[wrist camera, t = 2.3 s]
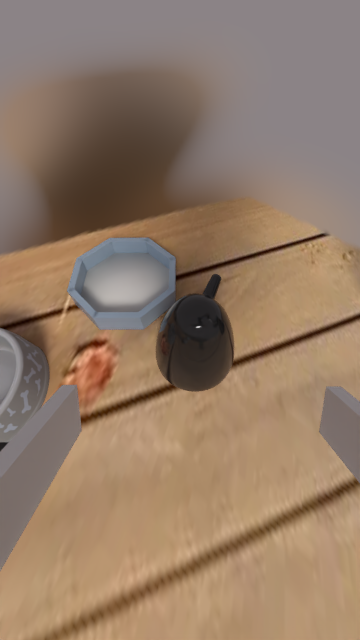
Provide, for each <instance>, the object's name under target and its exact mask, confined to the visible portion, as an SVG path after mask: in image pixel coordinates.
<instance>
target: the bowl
mask: <svg viewBox="0 0 360 640" xmlns="http://www.w3.org/2000/svg"><path fill="white" fill-rule="evenodd" d="M67 292H68V293H69V295H70V296H71V298H72V299H73V301H74V302H75V304H76V305H77V306H78V307H79V308H80V309H81V310H82V311H83V312H84V313H85V314H86V316H87V317H88V318H89V319H90V320H91V321H92V322H93V323H94V324H95V325H96V326H97V327H98V328H99V329H145V328H146V327H147V326H148V325H150V324H151V323H152V322H153V321H155V320H156V319H157V318H158V317H159V316H161V315H162V314H163V313H164V312H166V311H167V310H168V309H169V308H170V307H171V306H172V305H173V304H174V303H175V302H176V258H175V257H174V256H173V255H171V254H170V253H169V252H167V251H166V250H164V249H163V248H162V247H160V246H159V245H158V244H156V243H155V242H154V241H152V240H151V239H150V238H109V239H108V240H106V241H104V242H103V243H101V244H99V245H98V246H96V247H94V248H93V249H91V250H90V251H88V252H86V253H85V254H83V255H81V256H80V257H78V258H77V259H76V262H75V266H74V269H73V273H72V276H71V280H70V283H69V286H68V290H67Z"/></svg>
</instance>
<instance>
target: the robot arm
mask: <svg viewBox="0 0 360 640" xmlns="http://www.w3.org/2000/svg"><path fill="white" fill-rule="evenodd" d="M80 432H81V421H80V411H79V401H78V391H77V385H62V386H61V387H60V388H59V389H58V390H57V391H56V392H55V394H54V395H53V396H52V397H51V398H50V399H49V400H48V401H47V402H46V403H45V404H44V405H43V406H42V407H41V408H40V410H39V411H38V412H37V413H36V414H35V415H34V416H33V417H32V418H31V419H30V420H29V421H28V422H27V423H26V425H25V426H24V427H23V428H22V429H21V430H20V431H19V432H18V433H17V434H16V435H15V436H14V437H13V438H12V439H11V441H10V442H0V571H1V569H2V567H3V566H4V564H5V562H6V560H7V559H8V557H9V555H10V553H11V552H12V550H13V548H14V547H15V545H16V543H17V541H18V540H19V538H20V536H21V534H22V533H23V531H24V529H25V527H26V526H27V524H28V522H29V521H30V519H31V517H32V515H33V514H34V512H35V510H36V508H37V507H38V505H39V503H40V502H41V500H42V498H43V496H44V495H45V493H46V491H47V489H48V488H49V486H50V484H51V482H52V481H53V479H54V477H55V476H56V474H57V472H58V470H59V469H60V467H61V465H62V463H63V462H64V460H65V458H66V457H67V455H68V453H69V451H70V450H71V448H72V446H73V444H74V443H75V441H76V439H77V437H78V436H79V434H80ZM319 432H320V434H321V435H322V436H323V437H324V439H325V440H326V441H327V442H328V444H329V445H330V446H331V447H332V449H333V450H334V451H335V453H336V454H337V455H338V456H339V458H340V459H341V460H342V461H343V463H344V464H345V465H346V466H347V468H348V469H349V470H350V471H351V473H352V474H353V475H354V476H355V478H356V479H357V480H358V481H359V483H360V402H359V401H358V400H357V399H356V398H354V397H353V396H352V395H351V394H349V393H348V392H347V391H346V390H344V389H343V388H342V387H326V392H325V398H324V405H323V411H322V417H321V424H320V430H319Z"/></svg>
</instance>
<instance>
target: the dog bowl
mask: <svg viewBox="0 0 360 640" xmlns="http://www.w3.org/2000/svg"><path fill="white" fill-rule="evenodd" d="M48 386H49V366H48V362H47V359H46V357H45V355H44V353H43V351H42V350H41V349H40V348H39V347H37V346H35V345H33V344H32V343H30V342H29V341H27V340H26V339H24V338H22V337H21V336H19V335H17V334H15V333H13V332H11V331H8V330H4V329H2V328H0V442H10V441H11V439H12V438H13V437H14V436H15V435H16V434H17V433H18V432H19V431H20V430H21V429H22V428H23V427H24V426H25V425H26V423H27V422H28V421H29V420H30V419H31V418H32V417H33V416H34V415H35V414H36V413H37V412H38V411H39V410H40V408H41V406H42V404H43V402H44V400H45V397H46V394H47V390H48Z"/></svg>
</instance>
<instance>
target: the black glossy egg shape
mask: <svg viewBox="0 0 360 640" xmlns="http://www.w3.org/2000/svg"><path fill="white" fill-rule="evenodd" d="M220 281H221V277H220V276H219V275H217V274H213V275H212V277H211V279H210V281H209V282H208V284H207V286H206V288H205V290H204V292H203V294H189V295H186V296H184V297H182V298H180V299H179V300H177V301H176V302H175V303H174V304H173V305H172V306H171V308H170V309H169V310H168V312H167V313H166V315H165V317H164V319H163V321H162V324H161V326H160V329H159V332H158V336H157V342H156V360H157V364H158V367H159V369H160V371H161V373H162V375H163V376H164V377H165V378H166V379H167V380H168V381H169V382H170V383H171V384H173V385H174V386H176V387H178V388H180V389H183V390H186V391H204V390H208V389H211V388H213V387H215V386H216V385H218V384H219V383H220V382H222V381H223V380H224V379H225V377H226V376H227V374H228V373H229V371H230V369H231V366H232V363H233V358H234V336H233V330H232V326H231V323H230V320H229V318H228V315H227V313H226V312H225V310H224V308H223V307H222V306H221V305H220V304H219V303H218V302H217V301H216V300H215V296H216V293H217V290H218V287H219V284H220Z"/></svg>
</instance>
